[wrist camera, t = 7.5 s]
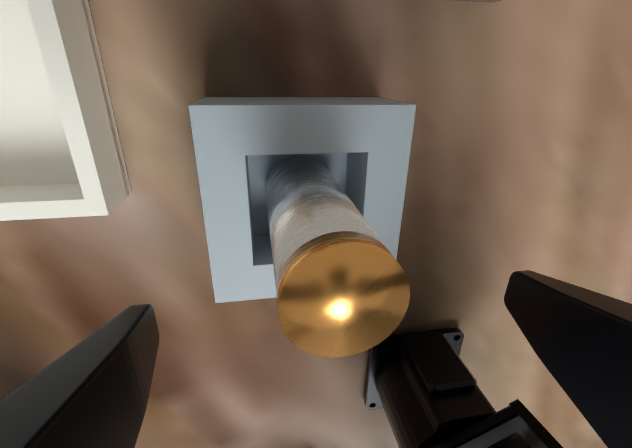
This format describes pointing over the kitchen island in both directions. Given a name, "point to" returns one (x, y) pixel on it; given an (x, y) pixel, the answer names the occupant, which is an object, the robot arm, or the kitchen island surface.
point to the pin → (329, 264)
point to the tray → (55, 115)
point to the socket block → (274, 145)
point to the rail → (481, 0)
